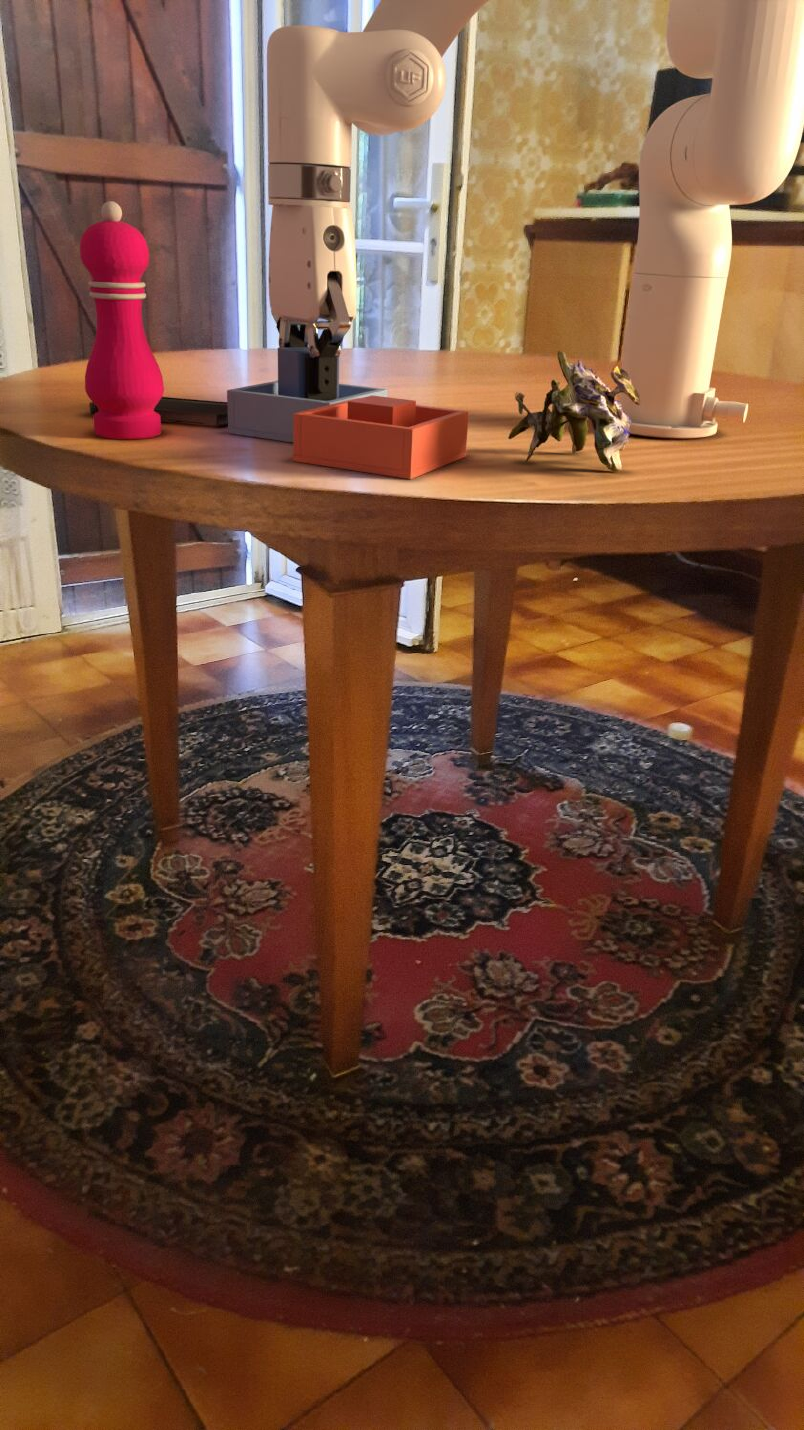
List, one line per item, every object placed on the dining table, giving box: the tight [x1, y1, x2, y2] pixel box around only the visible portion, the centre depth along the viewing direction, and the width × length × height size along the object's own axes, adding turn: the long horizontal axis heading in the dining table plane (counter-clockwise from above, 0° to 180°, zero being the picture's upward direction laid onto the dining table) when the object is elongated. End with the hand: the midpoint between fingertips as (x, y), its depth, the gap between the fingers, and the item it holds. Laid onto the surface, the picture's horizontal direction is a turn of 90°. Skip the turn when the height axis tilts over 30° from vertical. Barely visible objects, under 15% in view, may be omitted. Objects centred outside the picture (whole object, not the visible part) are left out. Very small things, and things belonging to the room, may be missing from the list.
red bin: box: [292, 398, 470, 480], centre depth 91 cm, size 12×12×4 cm
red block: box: [348, 395, 417, 427], centre depth 91 cm, size 4×4×4 cm
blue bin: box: [226, 380, 389, 444], centre depth 102 cm, size 12×12×4 cm
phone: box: [89, 396, 228, 427], centre depth 107 cm, size 8×1×15 cm
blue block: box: [277, 346, 340, 401], centre depth 100 cm, size 4×4×4 cm
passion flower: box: [507, 350, 641, 473], centre depth 92 cm, size 11×11×12 cm
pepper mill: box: [79, 200, 165, 440], centre depth 94 cm, size 7×7×20 cm
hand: (308, 393), depth 101 cm, fingers closed on blue block, 4 cm apart
